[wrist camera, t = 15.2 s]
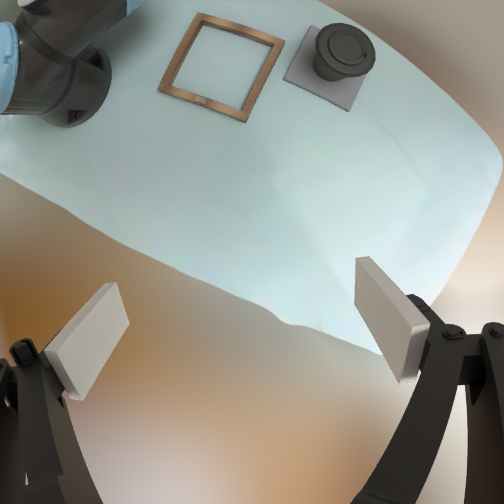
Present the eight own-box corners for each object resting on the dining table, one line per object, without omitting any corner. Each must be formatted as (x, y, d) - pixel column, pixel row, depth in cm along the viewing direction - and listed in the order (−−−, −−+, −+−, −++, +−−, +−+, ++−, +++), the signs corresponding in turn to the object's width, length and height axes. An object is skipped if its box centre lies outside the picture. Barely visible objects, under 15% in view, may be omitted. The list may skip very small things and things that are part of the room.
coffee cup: (357, 90, 39) (383, 77, 29) (306, 90, 39) (321, 74, 29) (350, 44, 36) (373, 22, 26) (300, 42, 36) (312, 17, 27)
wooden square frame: (161, 92, 40) (155, 89, 37) (199, 17, 35) (197, 10, 33) (246, 122, 41) (245, 121, 39) (284, 45, 37) (285, 39, 35)
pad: (283, 79, 39) (284, 78, 38) (310, 26, 36) (311, 24, 35) (348, 111, 40) (349, 111, 40) (371, 58, 37) (373, 57, 36)
